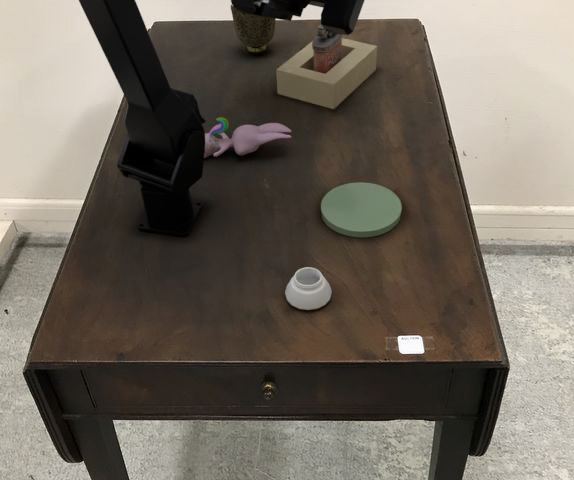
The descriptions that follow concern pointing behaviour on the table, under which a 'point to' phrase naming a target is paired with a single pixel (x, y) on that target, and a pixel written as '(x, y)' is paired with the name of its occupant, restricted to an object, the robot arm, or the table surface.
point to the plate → (361, 209)
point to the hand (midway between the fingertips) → (318, 23)
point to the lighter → (326, 50)
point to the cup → (253, 30)
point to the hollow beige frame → (335, 83)
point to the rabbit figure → (242, 137)
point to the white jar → (308, 289)
